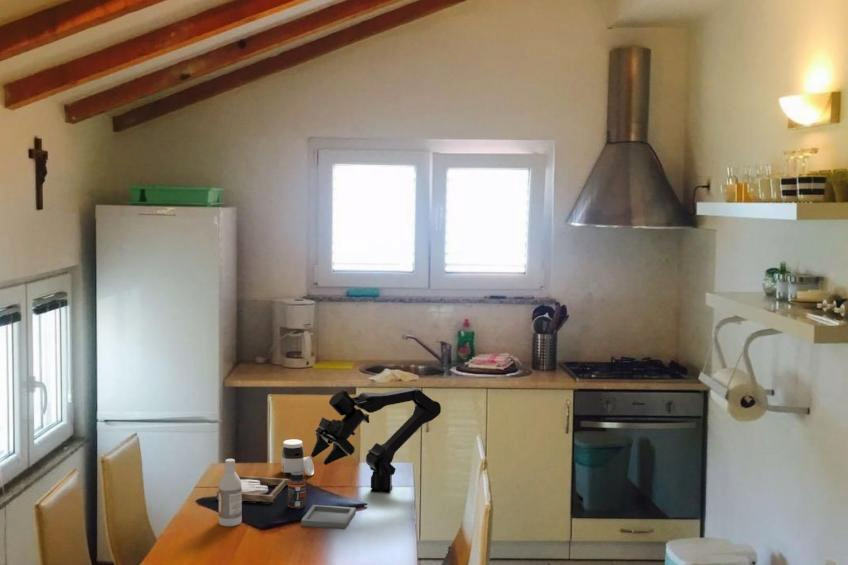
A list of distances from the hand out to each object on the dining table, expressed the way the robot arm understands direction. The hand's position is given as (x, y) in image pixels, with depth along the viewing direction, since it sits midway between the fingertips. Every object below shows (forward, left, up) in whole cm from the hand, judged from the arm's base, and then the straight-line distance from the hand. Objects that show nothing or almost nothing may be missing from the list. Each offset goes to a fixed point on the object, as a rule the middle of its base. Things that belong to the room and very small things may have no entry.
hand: (318, 460), depth 305 cm
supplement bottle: (+5, +6, -14) cm, 16 cm away
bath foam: (+21, +24, -14) cm, 35 cm away
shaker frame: (+23, -4, -14) cm, 28 cm away
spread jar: (+14, -27, -14) cm, 34 cm away
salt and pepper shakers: (+24, -3, -15) cm, 28 cm away
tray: (-8, +15, -14) cm, 22 cm away
